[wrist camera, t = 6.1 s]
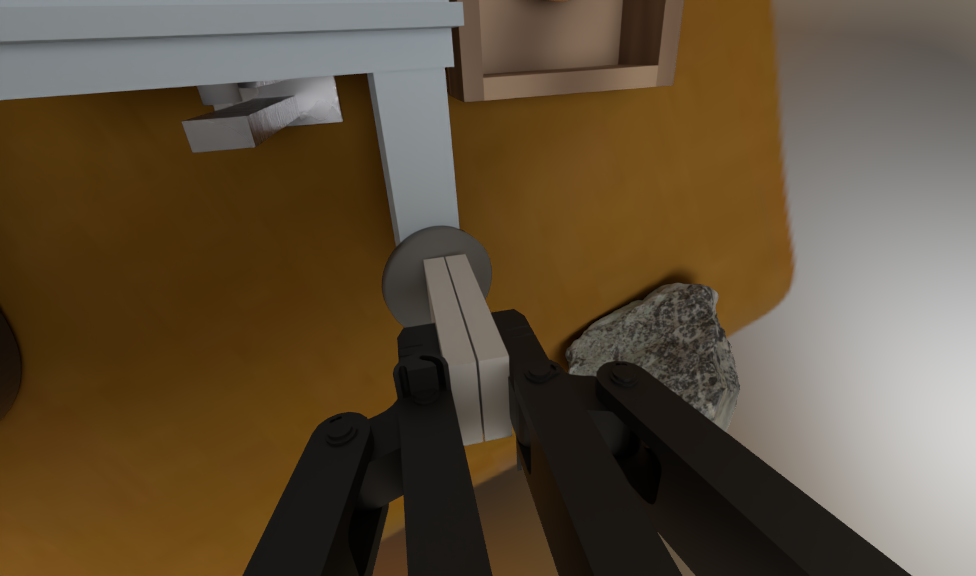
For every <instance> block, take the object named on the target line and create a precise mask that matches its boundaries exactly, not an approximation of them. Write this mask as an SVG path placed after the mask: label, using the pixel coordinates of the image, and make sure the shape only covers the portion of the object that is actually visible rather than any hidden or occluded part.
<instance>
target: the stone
mask: <svg viewBox="0 0 976 576" xmlns="http://www.w3.org/2000/svg"><path fill="white" fill-rule="evenodd" d="M718 297H719V296H718V293H717V292H716V291H714V290H713V289H711V288H710V287H708V286H704V285H701V284H682V283H678V282H677V283H674V284H667V285H663V286H660V287H659V288H657V289H655V290H654V291H653V292H652V293H650V294H649V295H647V296H646V297H645V298H644V299H643V300H637V301H634V302H630V304H629V305H626V306H624V307H622V308H620V309H618V310H615V311H614V312H613V313H611V314H609V315H607V316H605V317H603V318H601V319H600V320H598V321H596V322H595V323H593V324H592V325H591V326H589V328H588V329H587V330H586V331H584V332H583V334H582V336H581V337H580V338H579V339H577V340H575V341H574V342H573V343H572V345H571V346H570V347H568V348H567V349H566V353H565V356H566V359H567V362H568V368H569V370H568V372H567V373H569V374H573V375H584V376H596V373H597V371H598V369H599V367H600V366H602V365H603V364H605V363H607V362H612V361H626V362H630V363H634V364H636V365H638V366H640V367H642V368H643V369H645V370H646V371H647V372H649V373H650V374H651V375H653V376H654V377H655V378H656V379H658V380H659V381H660V382H662V383H663V384H664V385H665V386H667V387H668V388H669V389H671V390H672V391H673V392H675V393H676V394H677V395H678V396H680V397H681V398H682V399H684V400H685V401H686V402H688V403H689V404H690V405H691V406H693V407H694V408H695V409H697V410H698V411H699V412H700V413H702V414H703V415H704V416H706V417H707V418H708V419H710V420H711V421H712V422H713V423H715V424H716V425H717V426H719V427H720V428H721V429H722V430H724V431H725V432H727V429H728V426H729V423H730V421H731V418H732V415H733V412H734V409H735V406H736V402H737V397H738V394H739V390H740V385H739V382H738V375H737V372H736V367H735V361H734V357H733V354H732V353H731V344H730V343H729V342H728V340H727V339H726V336H725V331H724V329H722V328H721V326H720V324H719V322H718V321H719V319H718V318H717V313H716V309H715V306H716V303H717V300H718Z"/></svg>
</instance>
